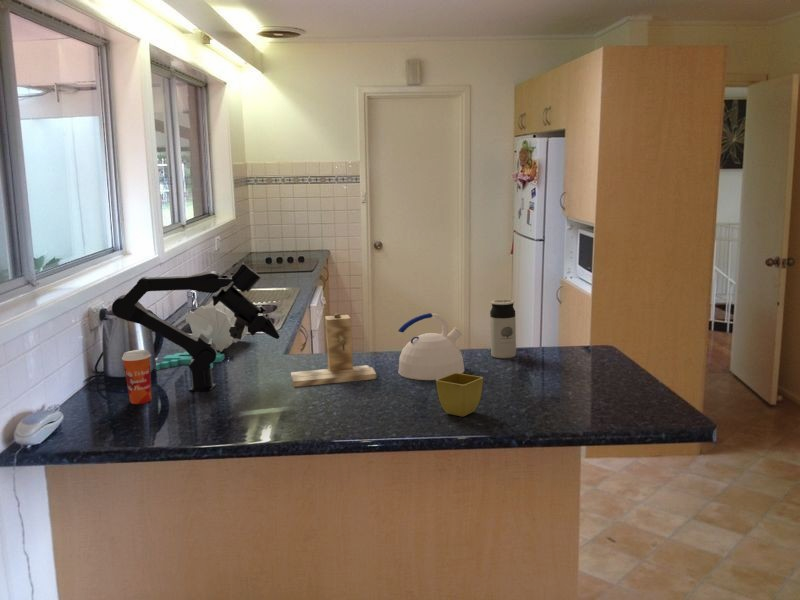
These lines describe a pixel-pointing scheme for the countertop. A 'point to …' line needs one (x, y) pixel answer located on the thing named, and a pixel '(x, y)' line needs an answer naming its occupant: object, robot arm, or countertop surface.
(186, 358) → the alien figure
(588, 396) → the countertop surface
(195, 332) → the spiral staircase
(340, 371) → the board
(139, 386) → the paper cup
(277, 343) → the countertop surface
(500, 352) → the travel mug
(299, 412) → the countertop surface
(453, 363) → the kettle
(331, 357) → the tan wooden tall block
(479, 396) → the flower pot
